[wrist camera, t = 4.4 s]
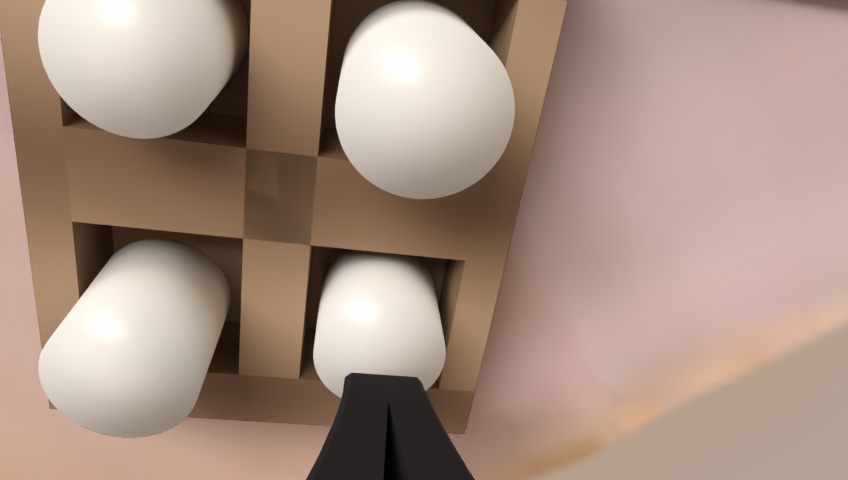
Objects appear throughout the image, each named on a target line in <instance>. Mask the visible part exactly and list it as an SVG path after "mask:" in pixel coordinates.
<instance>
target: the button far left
mask: <svg viewBox="0 0 848 480" xmlns="http://www.w3.org/2000/svg"><path fill="white" fill-rule="evenodd" d="M229 307H230V290H229V286H228V283H227V280H226V278H225V276H224V274H223V272H222V271H221V270H220V268H219V267H218V266H217V264H216V263H215V262H214V261H213V260H212V259H211V258H209V257H208V256H207V255H206V254H204V253H203V252H201V251H200V250H198V249H196V248H194V247H192V246H190V245H188V244H185V243H183V242H179V241H175V240H170V239H159V238H155V239H145V240H140V241H136V242H133V243H131V244H129V245H127V246H124V247H123V248H121V249H120V250H118V251H117V252H116V253H115V254H114V255H113V256H112V257H111V258H110V259H109V261H108V262H107V263H106V265H105V266H104V267H103V269H102V270H101V271H100V273H99V274H98V275H97V276H96V278H95V279H94V280H93V282H92V283H91V284H90V286H89V287H88V288H87V290H86V291H85V292H84V294H83V295H82V296H81V298H80V299H79V300H78V302H77V303H76V304H75V306H74V307H73V308H72V309H71V311H70V312H69V313H68V315H67V316H66V317H65V319H64V320H63V321H62V323H61V324H60V325H59V327H58V328H57V329H56V331H55V332H54V333H53V335H52V336H51V337H50V339H49V340H48V341H47V343H46V344H45V346H44V348H43V349H42V352H41V355H40V358H39V365H38V370H39V378H40V383H41V385H42V388H43V390H44V392H45V394H46V395H47V397H48V399H49V400H50V401H51V403H52V404H53V405H54V406H55V407H56V408H57V409H58V410H59V411H60V412H61V413H62V414H63V415H65V416H66V417H67V418H68V419H70V420H72V421H73V422H75V423H76V424H78V425H80V426H82V427H84V428H86V429H89V430H91V431H94V432H97V433H100V434H104V435H109V436H114V437H123V438H137V437H146V436H151V435H155V434H159V433H162V432H164V431H167V430H169V429H171V428H173V427H174V426H176V425H178V424H179V423H180V422H181V421H183V420H184V419H185V418H186V417H187V416H188V415H189V414H190V412H191V411H192V409H193V408H194V406H195V404H196V401H197V399H198V396H199V393H200V390H201V388H202V385H203V382H204V379H205V376H206V373H207V371H208V368H209V365H210V362H211V359H212V356H213V354H214V351H215V348H216V345H217V342H218V339H219V337H220V334H221V331H222V328H223V325H224V323H225V320H226V317H227V314H228V311H229Z"/></svg>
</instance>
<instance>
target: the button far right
mask: <svg viewBox="0 0 848 480" xmlns="http://www.w3.org/2000/svg"><path fill="white" fill-rule="evenodd" d="M445 356H446V347H445V341H444V336H443V330H442V325H441V319H440V314H439V308H438V303H437V297H436V292H435V286H434V281H433V275H432V270H431V268H430V265H429V263H428V261H427V259H426V258H425V257H423V256H413V255H403V254H393V253H383V252H373V251H363V250H353V249H343V248H339V249H338V250H337V251H336V252H335V253H334V254H333V255H332V256H331V258H330V259H329V261H328V263H327V265H326V267H325V270H324V273H323V278H322V286H321V294H320V302H319V310H318V318H317V326H316V334H315V342H314V350H313V359H314V365H315V369H316V372H317V374H318V376H319V378H320V379H321V381H322V382H323V384H324V385H325V386H326V387H327V388H328V389H329V390H330V391H331V392H333V393H334V394H335V395H337V396H338V397H340V398H342V394H343V387H344V379H345V377H346V376H347V375H349V374H350V373H365V374H380V375H394V376H409V377H417V378H418V379H419V380H420V381H421V382H422V384H423V387H424V389H425V391H426V390H427V389H429V388H430V387H431V386H432V385H433V383H434V382H435V381H436V380H437V378H438V377H439V375H440V373H441V371H442V369H443V366H444V362H445Z"/></svg>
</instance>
